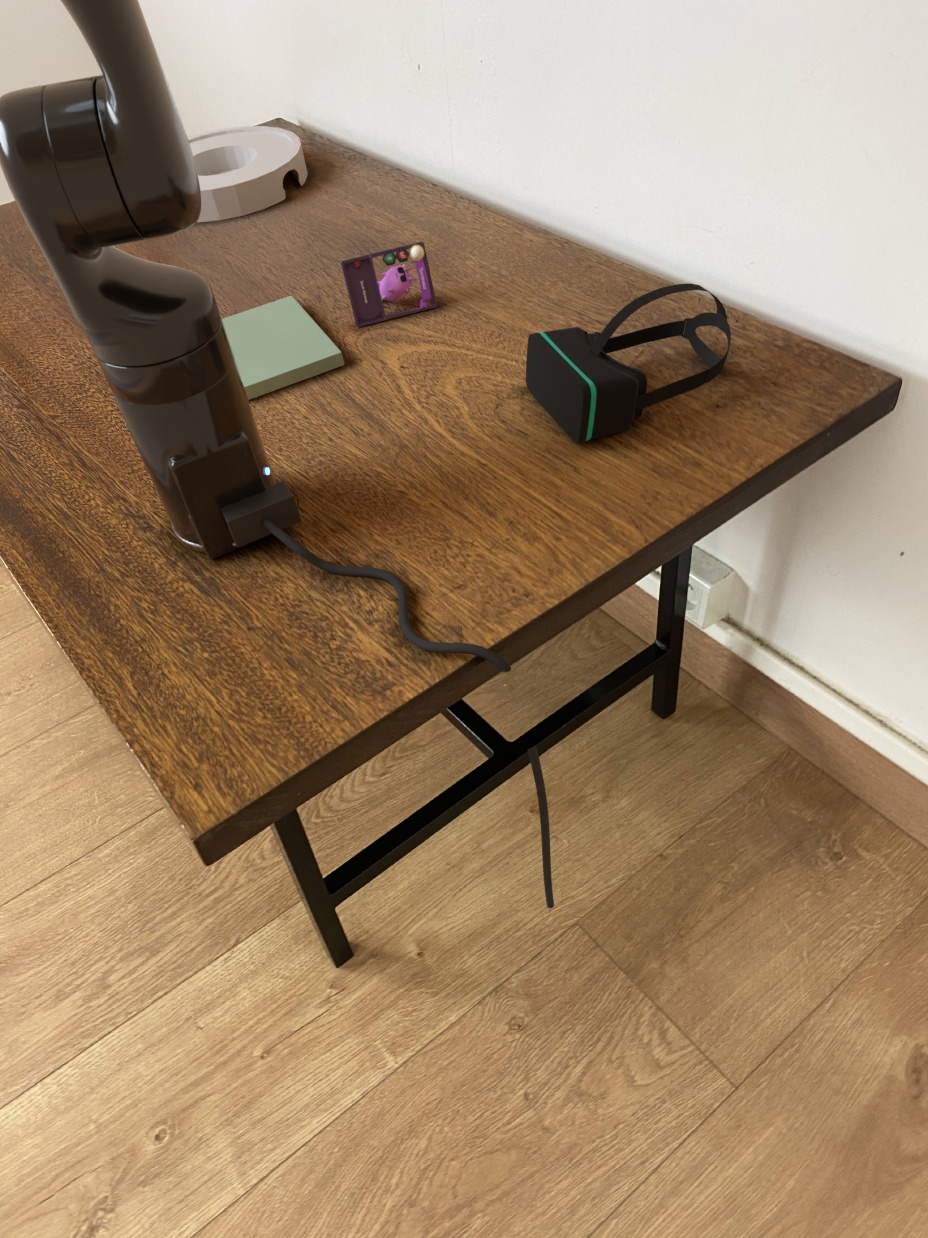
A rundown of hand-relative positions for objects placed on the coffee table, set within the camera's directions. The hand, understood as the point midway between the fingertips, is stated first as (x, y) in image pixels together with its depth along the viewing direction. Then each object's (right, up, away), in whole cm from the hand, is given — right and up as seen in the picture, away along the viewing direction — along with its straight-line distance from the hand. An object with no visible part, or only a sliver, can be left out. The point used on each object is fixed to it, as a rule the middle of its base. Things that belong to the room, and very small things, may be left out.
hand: (117, 34), depth 77 cm
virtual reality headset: (+46, -29, +6) cm, 54 cm away
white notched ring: (-4, +12, +52) cm, 53 cm away
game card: (+22, -16, +22) cm, 35 cm away
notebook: (+9, -22, +18) cm, 30 cm away
